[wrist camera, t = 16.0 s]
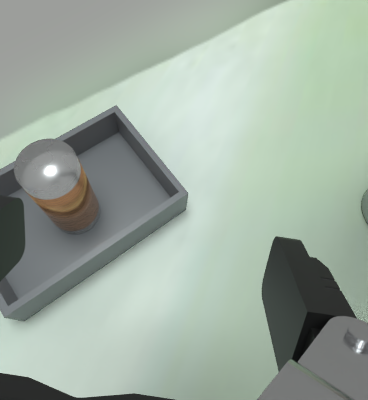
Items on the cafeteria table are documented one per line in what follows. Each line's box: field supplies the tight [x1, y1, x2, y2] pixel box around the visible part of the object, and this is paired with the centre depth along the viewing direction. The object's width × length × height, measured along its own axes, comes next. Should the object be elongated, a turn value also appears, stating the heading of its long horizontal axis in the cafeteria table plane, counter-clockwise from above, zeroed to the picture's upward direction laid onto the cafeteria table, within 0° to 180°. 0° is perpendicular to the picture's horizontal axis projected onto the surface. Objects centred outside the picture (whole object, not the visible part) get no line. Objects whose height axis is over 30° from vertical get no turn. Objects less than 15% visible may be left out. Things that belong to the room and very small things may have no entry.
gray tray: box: [0, 105, 188, 321], centre depth 44 cm, size 24×16×6 cm, turn 127°
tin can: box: [14, 139, 100, 234], centre depth 40 cm, size 6×6×13 cm
